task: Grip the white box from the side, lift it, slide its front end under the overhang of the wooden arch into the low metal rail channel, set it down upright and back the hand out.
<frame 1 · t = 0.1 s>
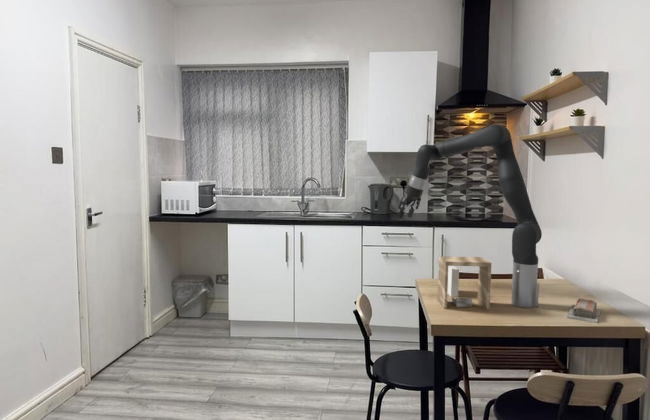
hand: (404, 217, 228), 31 cm above the table, tool tilted 20°, fingers open, 8 cm apart
wooden arch: (462, 305, 192), on the table
white box: (451, 293, 211), on the table
packaged product: (584, 316, 181), on the table
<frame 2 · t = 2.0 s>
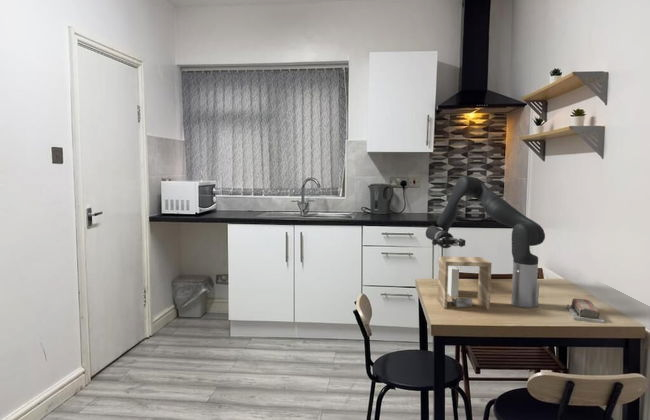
hand: (452, 244, 210), 21 cm above the table, tool horizontal, fingers open, 8 cm apart
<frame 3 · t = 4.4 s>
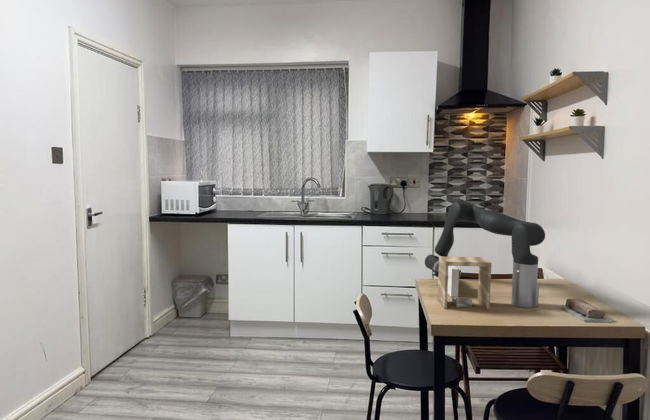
hand: (451, 277, 211), 7 cm above the table, tool horizontal, fingers closed on white box, 3 cm apart
white box: (451, 293, 211), on the table, touching gripper
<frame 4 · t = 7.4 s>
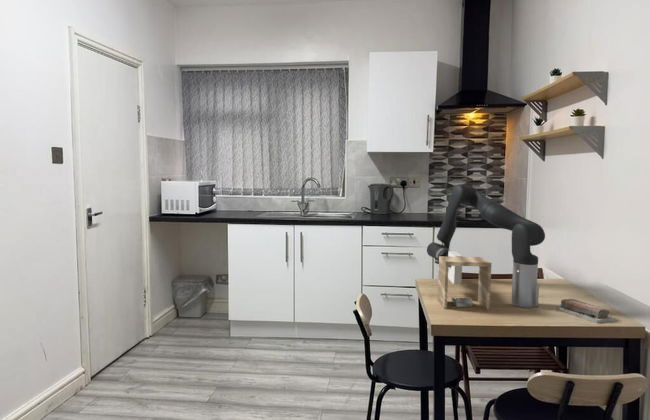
hand: (454, 264, 205), 14 cm above the table, tool horizontal, fingers closed on white box, 3 cm apart
white box: (454, 281, 206), point 6 cm above the table, touching gripper
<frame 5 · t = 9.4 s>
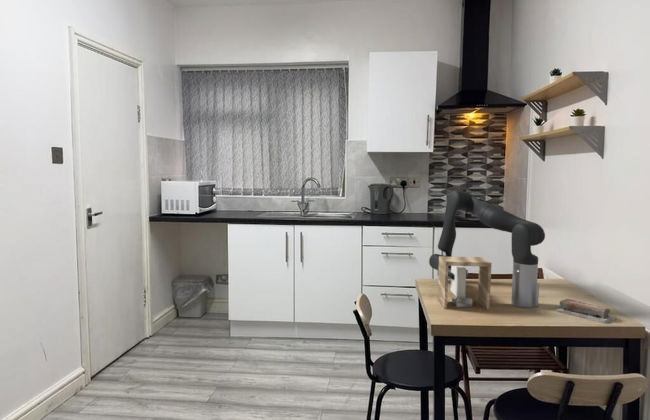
hand: (458, 277, 200), 9 cm above the table, tool horizontal, fingers closed on white box, 3 cm apart
white box: (457, 294, 200), point 2 cm above the table, touching gripper
when the fingers open (7 cm above the table, at t = 10.8 s): white box stays where it is, on the table.
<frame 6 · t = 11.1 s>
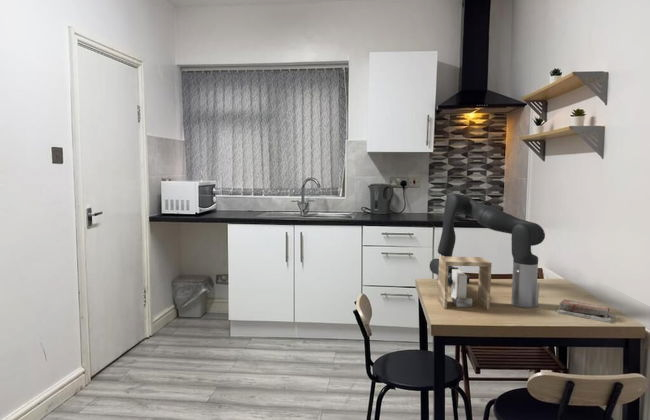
hand: (458, 282, 198), 8 cm above the table, tool horizontal, fingers open, 5 cm apart
white box: (458, 300, 199), on the table
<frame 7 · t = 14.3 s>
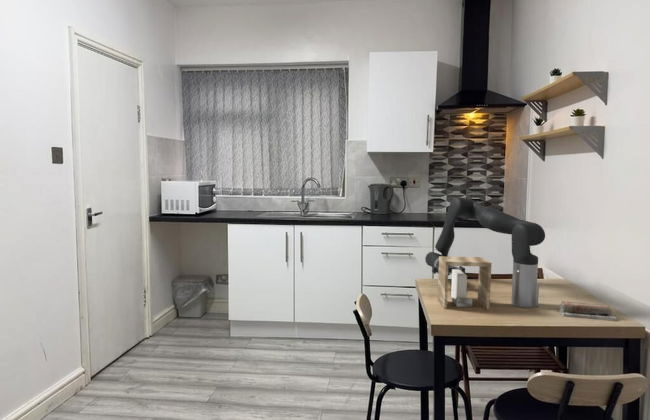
hand: (452, 273, 210), 9 cm above the table, tool horizontal, fingers open, 8 cm apart
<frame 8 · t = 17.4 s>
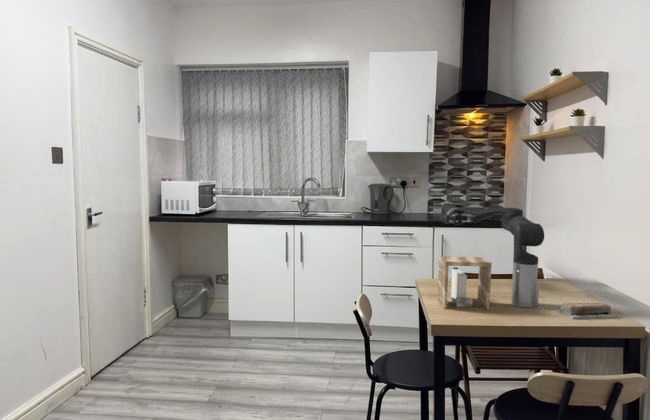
hand: (464, 219, 215), 32 cm above the table, tool horizontal, fingers open, 8 cm apart
at the end: white box 0.2 cm from the target spot on the wooden arch, point 0.0 cm above the wooden arch's base; white box tilted 0°; the gripper is holding nothing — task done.
